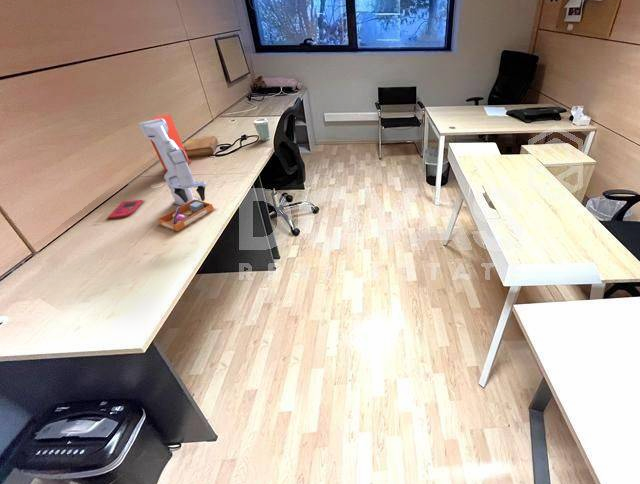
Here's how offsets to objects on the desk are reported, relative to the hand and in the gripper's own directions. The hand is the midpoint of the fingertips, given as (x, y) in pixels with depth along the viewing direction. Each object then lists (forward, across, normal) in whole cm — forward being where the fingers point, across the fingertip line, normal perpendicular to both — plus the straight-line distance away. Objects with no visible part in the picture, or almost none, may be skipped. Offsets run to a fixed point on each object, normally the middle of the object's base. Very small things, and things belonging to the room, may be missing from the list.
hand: (195, 200), depth 152 cm
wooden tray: (+10, -7, +1) cm, 12 cm away
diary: (+10, -30, +92) cm, 98 cm away
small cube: (+10, -4, +6) cm, 12 cm away
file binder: (+10, -35, +63) cm, 73 cm away
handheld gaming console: (+10, -41, +15) cm, 45 cm away
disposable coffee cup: (+10, +11, +107) cm, 108 cm away
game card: (+10, -9, -2) cm, 13 cm away
